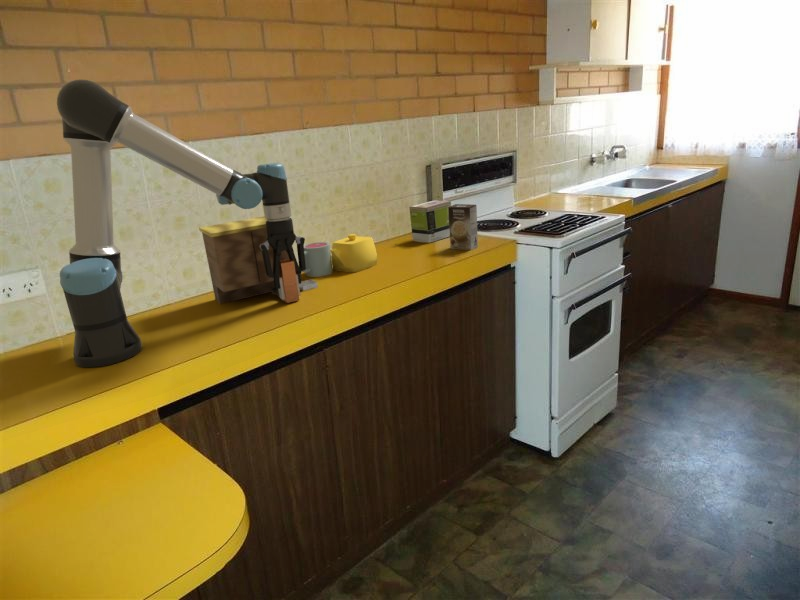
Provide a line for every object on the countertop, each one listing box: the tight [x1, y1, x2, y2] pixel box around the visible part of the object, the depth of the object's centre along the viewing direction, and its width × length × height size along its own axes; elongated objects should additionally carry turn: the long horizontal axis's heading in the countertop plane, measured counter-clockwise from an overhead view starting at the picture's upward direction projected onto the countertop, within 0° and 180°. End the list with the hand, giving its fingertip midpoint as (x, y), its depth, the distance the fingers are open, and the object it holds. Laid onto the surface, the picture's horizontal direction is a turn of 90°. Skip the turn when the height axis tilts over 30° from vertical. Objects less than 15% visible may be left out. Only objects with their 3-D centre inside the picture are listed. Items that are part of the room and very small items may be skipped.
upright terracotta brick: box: [271, 259, 300, 304], centre depth 173 cm, size 4×14×12 cm, turn 33°
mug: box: [302, 241, 334, 278], centre depth 197 cm, size 14×9×10 cm
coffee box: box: [448, 203, 479, 251], centre depth 214 cm, size 9×6×16 cm
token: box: [299, 279, 319, 292], centre depth 184 cm, size 5×5×2 cm
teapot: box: [330, 233, 378, 273], centre depth 202 cm, size 20×12×12 cm, turn 142°
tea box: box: [408, 199, 452, 244], centre depth 235 cm, size 15×10×15 cm
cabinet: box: [199, 216, 289, 305], centre depth 176 cm, size 23×15×23 cm, turn 121°
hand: (290, 296), depth 171 cm, fingers closed on upright terracotta brick, 4 cm apart
